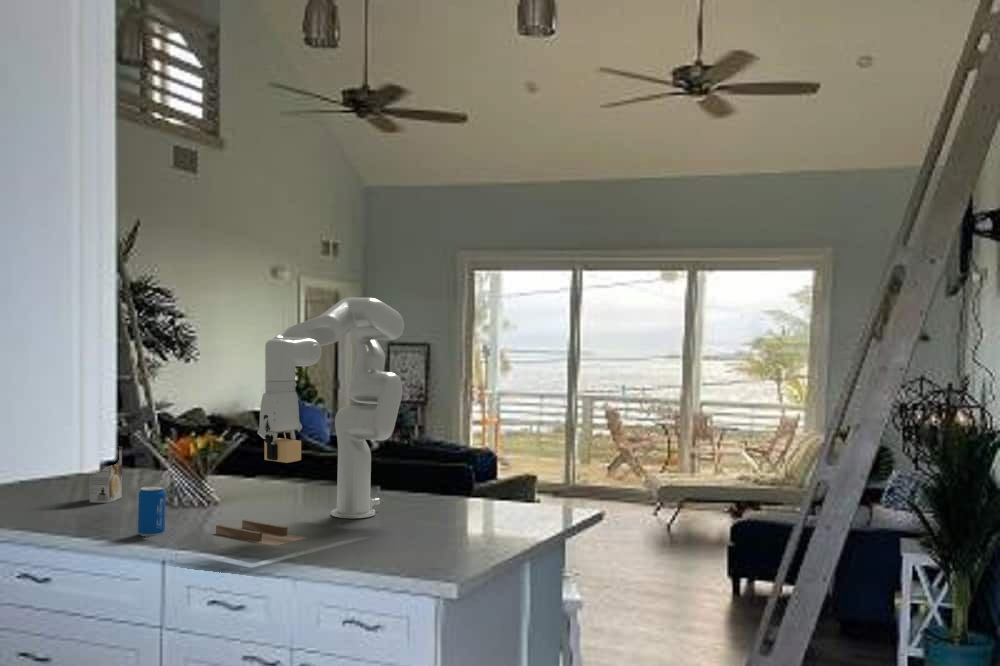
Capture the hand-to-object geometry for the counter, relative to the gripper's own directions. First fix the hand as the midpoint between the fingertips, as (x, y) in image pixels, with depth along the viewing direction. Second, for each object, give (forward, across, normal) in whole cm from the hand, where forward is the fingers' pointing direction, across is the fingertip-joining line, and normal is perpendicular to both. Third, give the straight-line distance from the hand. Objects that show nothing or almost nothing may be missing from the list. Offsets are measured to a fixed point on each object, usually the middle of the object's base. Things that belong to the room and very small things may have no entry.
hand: (280, 457), depth 243 cm
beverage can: (+20, +18, -28) cm, 39 cm away
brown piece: (+20, +6, -2) cm, 21 cm away
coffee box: (+21, -5, -79) cm, 82 cm away
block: (+1, 0, +1) cm, 1 cm away
